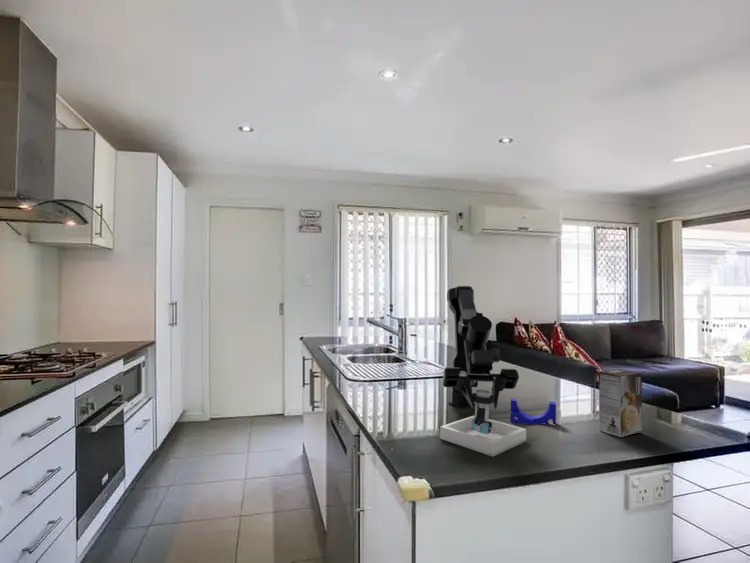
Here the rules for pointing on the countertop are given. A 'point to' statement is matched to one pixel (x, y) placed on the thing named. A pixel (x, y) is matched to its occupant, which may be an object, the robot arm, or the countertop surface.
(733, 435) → the countertop surface
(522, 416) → the blue u-shaped cradle
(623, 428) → the coffee box
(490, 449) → the tray
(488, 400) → the push button
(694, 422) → the countertop surface
